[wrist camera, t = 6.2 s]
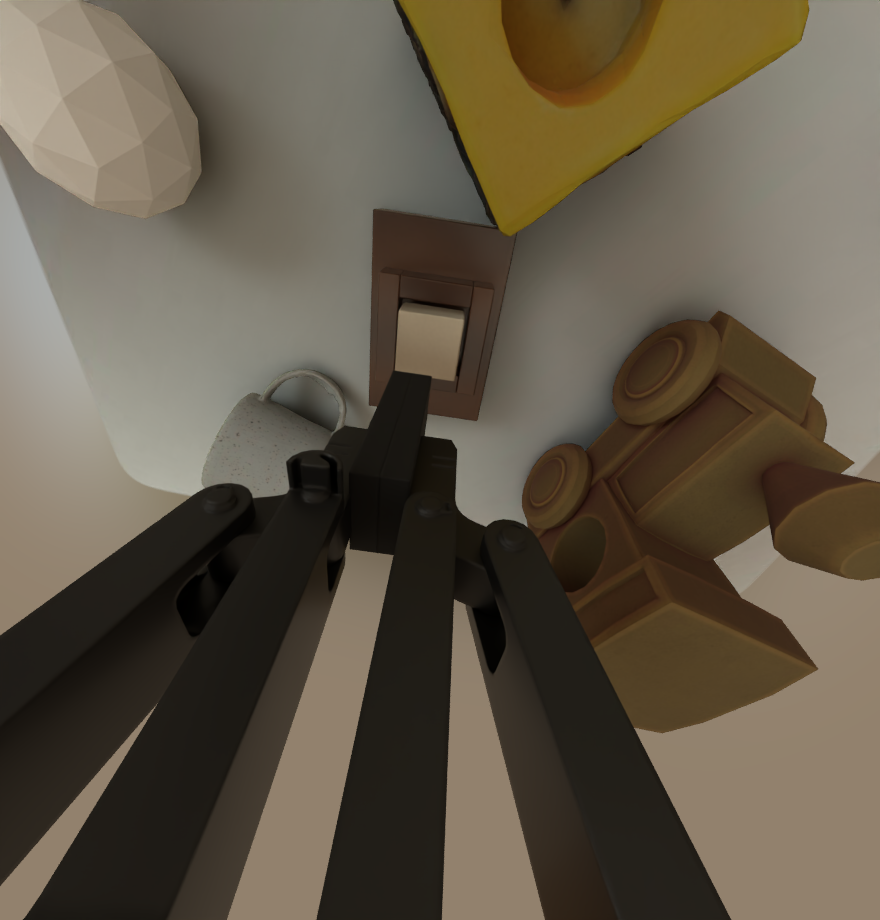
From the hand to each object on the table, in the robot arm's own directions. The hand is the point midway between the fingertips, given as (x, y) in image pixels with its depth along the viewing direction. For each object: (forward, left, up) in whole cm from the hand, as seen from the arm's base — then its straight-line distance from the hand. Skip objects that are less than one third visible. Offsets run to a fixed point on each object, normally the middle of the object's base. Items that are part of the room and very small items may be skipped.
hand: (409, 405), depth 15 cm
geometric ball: (-8, -16, -13) cm, 23 cm away
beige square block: (0, 0, -10) cm, 10 cm away
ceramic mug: (+10, -10, -13) cm, 19 cm away
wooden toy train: (+7, +17, -13) cm, 22 cm away
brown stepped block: (0, 0, -13) cm, 13 cm away
